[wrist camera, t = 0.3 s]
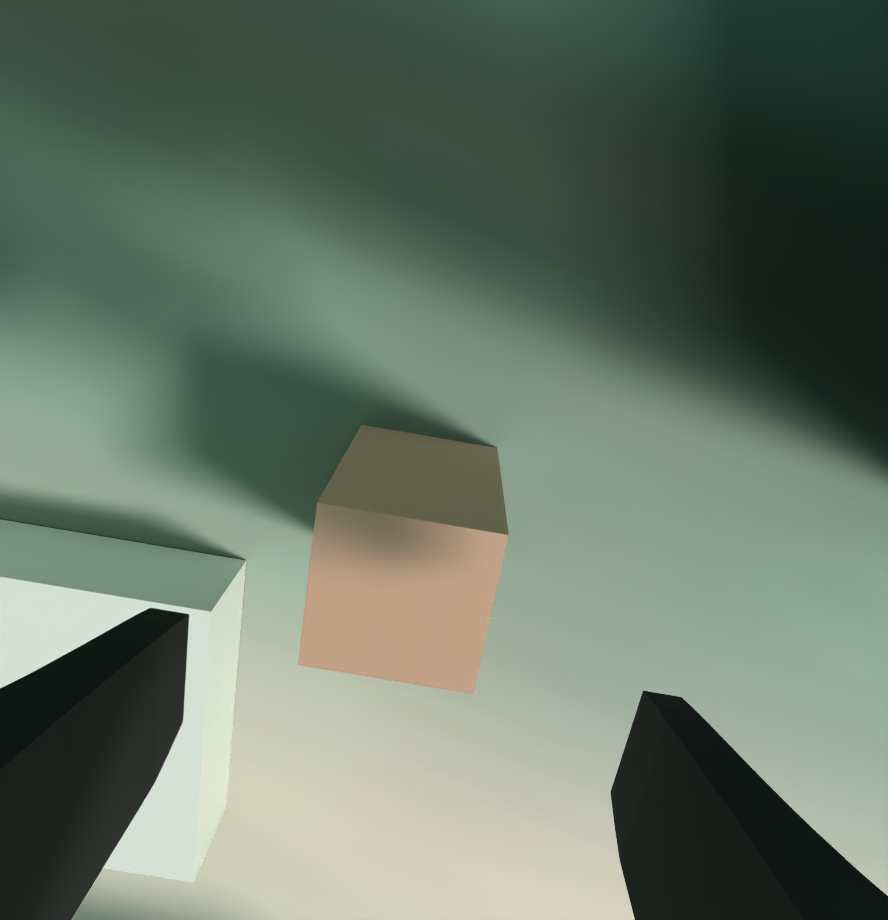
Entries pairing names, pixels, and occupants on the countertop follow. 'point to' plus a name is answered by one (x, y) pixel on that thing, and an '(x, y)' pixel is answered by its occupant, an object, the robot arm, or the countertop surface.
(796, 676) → the countertop surface
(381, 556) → the block
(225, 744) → the slab
